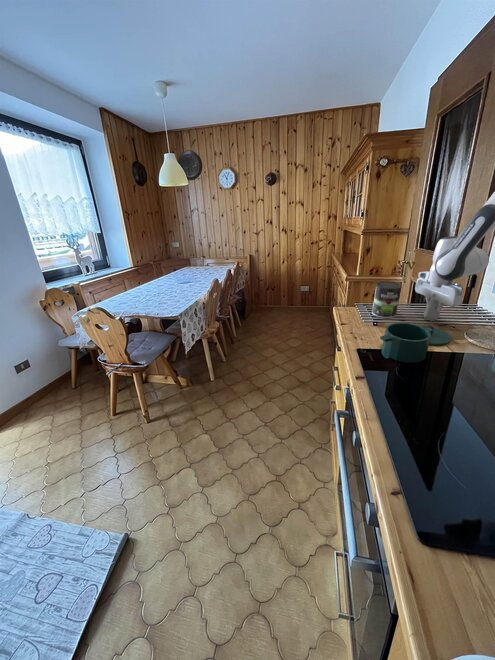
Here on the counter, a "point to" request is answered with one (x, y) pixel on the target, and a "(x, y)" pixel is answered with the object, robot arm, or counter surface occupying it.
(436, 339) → the lid
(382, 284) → the coffee can
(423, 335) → the pot
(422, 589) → the counter surface
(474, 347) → the counter surface
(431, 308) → the salt shaker
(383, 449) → the counter surface
